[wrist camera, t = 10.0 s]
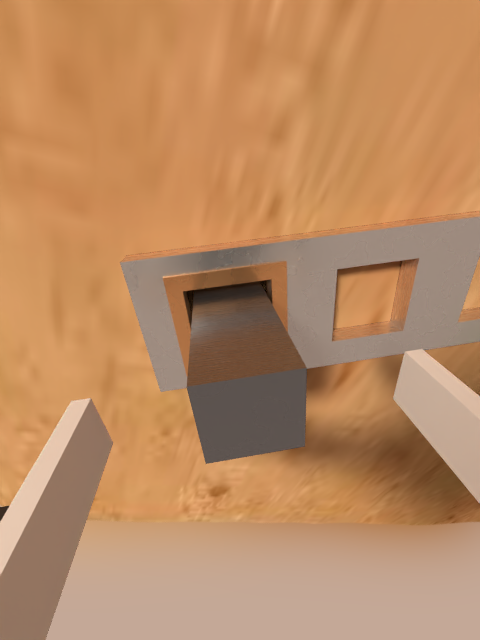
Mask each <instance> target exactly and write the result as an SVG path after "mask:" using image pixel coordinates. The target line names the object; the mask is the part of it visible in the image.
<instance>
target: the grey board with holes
mask: <svg viewBox="0 0 480 640" xmlns="http://www.w3.org/2000/svg"><path fill="white" fill-rule="evenodd" d="M479 256H480V211H475V212H467V213H459V214H451V215H443V216H435V217H428V218H420V219H412V220H404V221H396V222H388V223H380V224H372V225H364V226H356V227H348V228H340V229H333V230H325V231H317V232H309V233H301V234H293V235H285V236H277V237H269V238H261V239H253V240H245V241H238V242H230V243H222V244H214V245H206V246H198V247H190V248H182V249H174V250H166V251H158V252H150V253H143V254H135V255H127V256H126V257H125V258H124V259H123V260H122V261H121V262H120V264H121V267H122V270H123V274H124V277H125V280H126V283H127V286H128V289H129V293H130V296H131V299H132V302H133V305H134V308H135V312H136V315H137V318H138V321H139V324H140V327H141V331H142V334H143V337H144V340H145V343H146V346H147V350H148V353H149V356H150V359H151V362H152V366H153V369H154V372H155V375H156V378H157V381H158V385H159V388H160V391H161V392H163V391H169V390H176V389H182V388H187V376H188V363H189V350H190V337H191V324H192V316H191V311H190V306H189V302H188V297H187V292H186V291H189V290H196V289H204V288H211V287H218V286H226V285H233V284H241V283H248V282H255V281H263V280H266V287H267V296H268V298H269V300H270V301H271V303H272V305H273V307H274V309H275V311H276V312H277V314H278V316H279V318H280V320H281V322H282V323H283V325H284V327H285V329H286V331H287V332H288V334H289V336H290V338H291V340H292V342H293V343H294V345H295V347H296V349H297V351H298V353H299V354H300V356H301V358H302V360H303V362H304V363H305V365H306V367H307V369H309V368H315V367H321V366H328V365H334V364H340V363H347V362H353V361H359V360H366V359H372V358H378V357H385V356H391V355H397V354H404V353H405V352H406V351H412V350H419V349H423V350H429V349H435V348H442V347H448V346H454V345H461V344H467V343H473V342H479V341H480V308H473V309H467V310H462V308H463V305H464V302H465V299H466V296H467V293H468V290H469V286H470V283H471V280H472V277H473V274H474V271H475V268H476V265H477V262H478V259H479ZM394 261H402V263H401V268H400V273H399V279H398V284H397V289H396V294H395V299H394V305H393V310H392V315H391V320H390V321H387V322H380V323H373V324H366V325H360V326H353V327H346V328H340V329H333V320H334V307H335V294H336V281H337V269H343V268H350V267H357V266H365V265H372V264H379V263H387V262H394Z"/></svg>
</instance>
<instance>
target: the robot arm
mask: <svg viewBox="0 0 480 640" xmlns="http://www.w3.org/2000/svg"><path fill="white" fill-rule="evenodd" d="M393 399H394V400H395V402H396V403H397V404H398V405H399V407H400V408H401V409H402V410H403V411H404V413H405V414H406V415H407V416H408V417H409V419H410V420H411V421H412V422H413V423H414V425H415V426H416V427H417V428H418V430H419V431H420V432H421V433H422V434H423V436H424V437H425V438H426V439H427V440H428V442H429V443H430V444H431V445H432V447H433V448H434V449H435V450H436V451H437V453H438V454H439V455H440V456H441V457H442V459H443V460H444V461H445V462H446V463H447V465H448V466H449V467H450V468H451V470H452V471H453V472H454V473H455V474H456V476H457V477H458V478H459V479H460V480H461V482H462V483H463V484H464V485H465V486H466V488H467V489H468V490H469V491H470V493H471V494H472V495H473V496H474V497H475V499H476V500H477V501H478V502H479V503H480V396H479V395H477V394H476V393H475V392H474V391H473V390H471V389H470V388H469V387H468V386H466V385H465V384H464V383H463V382H462V381H460V380H459V379H458V378H457V377H455V376H454V375H453V374H452V373H451V372H449V371H448V370H447V369H446V368H445V367H443V366H442V365H441V364H440V363H438V362H437V361H436V360H435V359H434V358H432V357H431V356H430V355H429V354H427V353H426V352H425V351H424V350H423V349H419V350H412V351H406V352H405V353H404V357H403V361H402V365H401V369H400V373H399V377H398V381H397V385H396V389H395V393H394V397H393ZM112 445H113V441H112V439H111V437H110V435H109V433H108V431H107V429H106V427H105V425H104V423H103V422H102V420H101V418H100V416H99V414H98V412H97V410H96V408H95V406H94V404H93V402H92V400H91V398H89V399H82V400H75V401H71V403H70V404H69V406H68V408H67V409H66V411H65V413H64V414H63V416H62V418H61V420H60V421H59V423H58V425H57V426H56V428H55V430H54V431H53V433H52V435H51V436H50V438H49V440H48V442H47V443H46V445H45V447H44V448H43V450H42V452H41V453H40V455H39V457H38V459H37V460H36V462H35V464H34V465H33V467H32V469H31V470H30V472H29V474H28V476H27V477H26V479H25V481H24V482H23V484H22V486H21V487H20V489H19V491H18V493H17V494H16V496H15V498H14V499H13V501H12V503H11V504H10V506H5V507H0V640H45V639H46V637H47V634H48V631H49V628H50V625H51V622H52V619H53V616H54V613H55V610H56V607H57V605H58V602H59V599H60V596H61V593H62V590H63V587H64V584H65V581H66V578H67V575H68V573H69V570H70V567H71V564H72V561H73V558H74V555H75V552H76V549H77V546H78V543H79V541H80V537H81V535H82V532H83V529H84V526H85V523H86V520H87V517H88V514H89V511H90V509H91V506H92V503H93V500H94V497H95V494H96V491H97V488H98V485H99V482H100V479H101V477H102V474H103V471H104V468H105V465H106V462H107V459H108V456H109V453H110V450H111V447H112Z"/></svg>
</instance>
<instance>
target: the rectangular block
mask: <svg viewBox="0 0 480 640" xmlns="http://www.w3.org/2000/svg"><path fill="white" fill-rule="evenodd" d="M306 382H307V367H306V365H305V363H304V362H303V360H302V358H301V356H300V354H299V353H298V351H297V349H296V347H295V345H294V343H293V342H292V340H291V338H290V336H289V334H288V332H287V331H286V329H285V327H284V325H283V323H282V322H281V320H280V318H279V316H278V314H277V312H276V311H275V309H274V307H273V305H272V303H271V301H270V300H269V298H268V296H267V294H266V292H265V290H264V289H263V287H262V285H261V283H260V281H255V282H248V283H241V284H233V285H226V286H218V287H211V288H204V289H196V290H194V299H193V312H192V324H191V337H190V350H189V363H188V376H187V390H188V394H189V398H190V402H191V406H192V410H193V414H194V418H195V422H196V426H197V430H198V434H199V438H200V442H201V446H202V450H203V454H204V458H205V462H206V464H207V463H213V462H219V461H224V460H230V459H236V458H242V457H247V456H253V455H259V454H264V453H270V452H276V451H281V450H287V449H293V448H298V447H304V446H305V421H306Z"/></svg>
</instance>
